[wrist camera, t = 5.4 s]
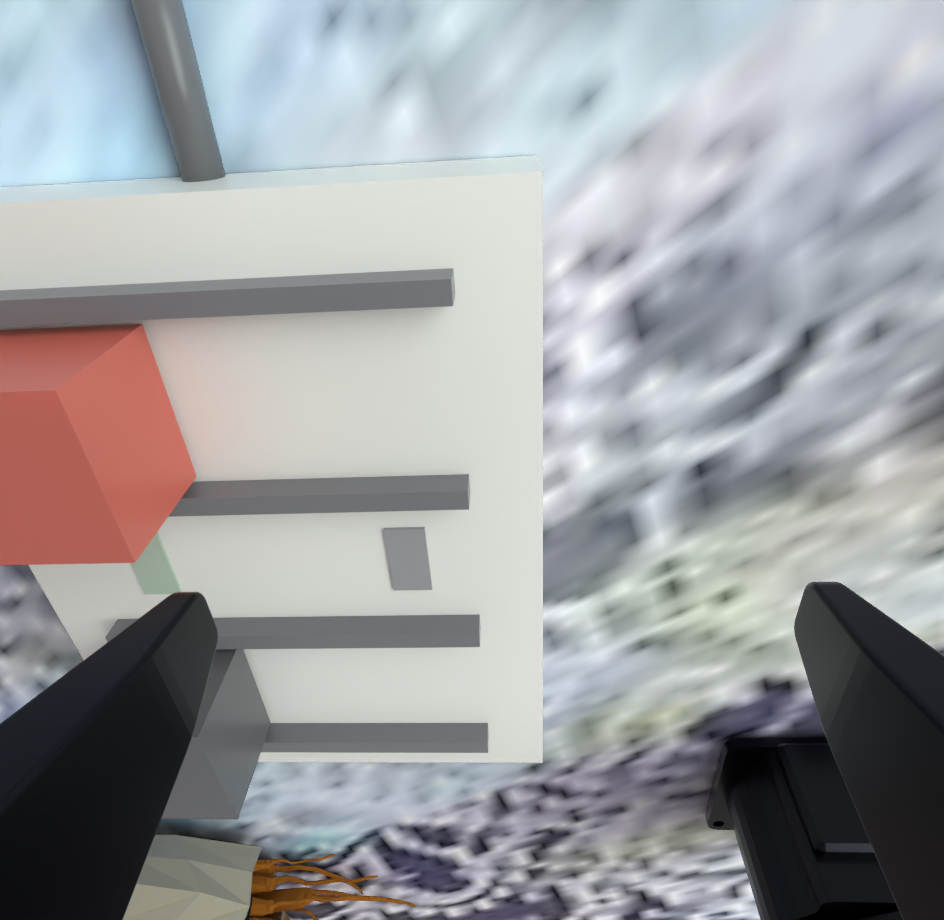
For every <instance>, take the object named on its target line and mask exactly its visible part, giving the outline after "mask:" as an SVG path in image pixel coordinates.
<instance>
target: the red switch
mask: <svg viewBox="0 0 944 920" xmlns="http://www.w3.org/2000/svg"><path fill="white" fill-rule="evenodd" d="M196 477H197V476H196V473H195V470H194V467H193V465H192V462H191V459H190V456H189V453H188V451H187V448H186V445H185V442H184V439H183V436H182V434H181V431H180V428H179V425H178V422H177V420H176V417H175V414H174V411H173V408H172V406H171V403H170V400H169V397H168V394H167V392H166V389H165V386H164V383H163V380H162V377H161V375H160V372H159V369H158V366H157V363H156V361H155V358H154V355H153V352H152V349H151V347H150V344H149V341H148V338H147V335H146V333H145V330H144V327H143V324H129V325H107V326H84V327H62V328H39V329H17V330H0V565H45V564H99V563H135V562H136V561H137V560H138V558H139V557H140V555H141V554H142V553H143V551H144V550H145V548H146V547H147V546H148V544H149V543H150V541H151V540H152V539H153V537H154V536H155V534H156V533H157V532H158V530H159V529H160V527H161V526H162V525H163V523H164V522H165V520H166V519H167V518H168V516H169V515H170V513H171V512H172V511H173V509H174V508H175V506H176V505H177V504H178V502H179V501H180V499H181V498H182V497H183V495H184V494H185V492H186V491H187V490H188V488H189V487H190V485H191V484H192V483H193V481H194V480H195V478H196Z"/></svg>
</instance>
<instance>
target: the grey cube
mask: <svg viewBox="0 0 944 920" xmlns="http://www.w3.org/2000/svg"><path fill="white" fill-rule="evenodd" d="M270 724H271V722H270V719H269V717H268V714H267V711H266V709H265V706H264V703H263V701H262V698H261V695H260V693H259V690H258V687H257V685H256V682H255V679H254V677H253V674H252V671H251V669H250V666H249V663H248V661H247V658H246V655H245V653H244V650H243V649H216V650H215V654H214V658H213V662H212V666H211V669H210V673H209V677H208V681H207V684H206V688H205V692H204V696H203V700H202V703H201V707H200V711H199V715H198V718H197V722H196V726H195V729H194V732H193V736H192V739H191V742H190V744H189V747H188V750H187V753H186V756H185V758H184V761H183V763H182V766H181V769H180V771H179V774H178V776H177V779H176V782H175V784H174V787H173V790H172V792H171V795H170V797H169V800H168V803H167V805H166V808H165V810H164V813H163V816H162V818H161V819H238V817H239V814H240V811H241V808H242V805H243V802H244V800H245V797H246V794H247V791H248V788H249V785H250V782H251V779H252V776H253V773H254V770H255V768H256V765H257V762H258V759H259V756H260V753H261V750H262V747H263V744H264V741H265V738H266V736H267V733H268V730H269V727H270Z"/></svg>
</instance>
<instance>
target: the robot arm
mask: <svg viewBox="0 0 944 920" xmlns="http://www.w3.org/2000/svg"><path fill="white" fill-rule="evenodd" d="M794 630H795V637H796V641H797V644H798V647H799V651H800V654H801V657H802V661H803V664H804V667H805V671H806V674H807V677H808V681H809V684H810V687H811V691H812V694H813V697H814V701H815V704H816V707H817V711H818V714H819V717H820V721H821V724H822V727H823V730H824V733H825V736H826V738H736V739H731V740H728V741H727V742H725V743H724V745H723V749H722V753H721V756H720V760H719V764H718V768H717V772H716V776H715V780H714V784H713V788H712V792H711V795H710V799H709V803H708V807H707V811H706V820H707V824H708V826H709V827H710V828H712V829H717V830H734V831H735V834H736V838H737V841H738V844H739V848H740V851H741V855H742V858H743V861H744V865H745V868H746V871H747V875H748V878H749V882H750V885H751V888H752V892H753V895H754V898H755V902H756V905H757V909H758V912H759V915H760V919H761V920H944V655H942V654H941V653H939V652H938V651H936V650H935V649H934V648H932V647H931V646H929V645H928V644H927V643H925V642H924V641H922V640H921V639H920V638H918V637H917V636H915V635H914V634H912V633H911V632H910V631H908V630H907V629H905V628H904V627H903V626H901V625H900V624H898V623H897V622H896V621H894V620H893V619H891V618H890V617H888V616H887V615H886V614H884V613H883V612H881V611H880V610H879V609H877V608H876V607H874V606H873V605H872V604H870V603H869V602H867V601H866V600H864V599H863V598H862V597H860V596H859V595H857V594H856V593H855V592H853V591H852V590H850V589H849V588H848V587H846V586H845V585H843V584H841V583H839V582H812V583H809V584H808V585H807V586H806V588H805V590H804V593H803V596H802V600H801V603H800V606H799V609H798V613H797V616H796V619H795V625H794ZM217 642H218V631H217V626H216V624H215V621H214V619H213V616H212V614H211V611H210V609H209V606H208V604H207V601H206V599H205V597H204V596H203V595H202V594H201V593H199V592H176V593H173V594H171V595H169V596H168V597H167V598H165V599H164V600H163V601H161V602H160V603H159V604H157V605H156V606H155V607H153V608H152V609H151V610H149V611H148V612H147V613H146V614H144V615H143V616H142V617H140V618H139V619H138V620H136V621H135V622H134V623H132V624H131V625H130V626H128V627H127V628H126V629H124V630H123V631H122V632H121V633H119V634H118V635H117V636H115V637H114V638H113V639H111V640H110V641H109V642H107V643H106V644H105V645H103V646H102V647H101V648H99V649H98V650H97V651H95V652H94V653H93V654H92V655H90V656H89V657H88V658H86V659H85V660H84V661H82V662H81V663H80V664H78V665H77V666H76V667H74V668H73V669H72V670H70V671H69V672H68V673H67V674H65V675H64V676H63V677H61V678H60V679H59V680H57V681H56V682H55V683H53V684H52V685H51V686H49V687H48V688H47V689H45V690H44V691H43V692H42V693H40V694H39V695H38V696H36V697H35V698H34V699H32V700H31V701H30V702H28V703H27V704H26V705H24V706H23V707H22V708H20V709H19V710H18V711H17V712H15V713H14V714H13V715H11V716H10V717H9V718H7V719H6V720H5V721H3V722H2V723H1V724H0V920H123V918H124V915H125V913H126V910H127V907H128V905H129V902H130V899H131V897H132V894H133V892H134V889H135V886H136V884H137V881H138V879H139V876H140V873H141V871H142V868H143V865H144V863H145V860H146V858H147V855H148V852H149V850H150V847H151V845H152V842H153V839H154V837H155V834H156V831H157V829H158V826H159V824H160V821H161V818H162V816H163V813H164V810H165V808H166V805H167V803H168V800H169V797H170V795H171V792H172V790H173V787H174V784H175V782H176V779H177V776H178V774H179V771H180V769H181V766H182V763H183V761H184V758H185V756H186V753H187V750H188V747H189V744H190V742H191V739H192V736H193V732H194V729H195V726H196V722H197V718H198V715H199V711H200V707H201V703H202V700H203V696H204V692H205V688H206V684H207V681H208V677H209V673H210V669H211V666H212V662H213V658H214V654H215V650H216V647H217Z"/></svg>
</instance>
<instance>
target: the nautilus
mask: <svg viewBox="0 0 944 920" xmlns="http://www.w3.org/2000/svg"><path fill="white" fill-rule="evenodd" d="M261 849H262V847H257V846H250V845H243V844H236V843H229V842H222V841H215V840H208V839H201V838H194V837H187V836H180V835H155V837H154V839H153V842H152V845H151V847H150V850H149V852H148V855H147V858H146V860H145V863H144V865H143V868H142V871H141V873H140V876H139V879H138V881H137V884H136V886H135V889H134V892H133V894H132V897H131V899H130V902H129V905H128V907H127V910H126V913H125V915H124V918H123V920H290V919H289V917H288V916H287V914H286V913H285V912H284V911H287V910H295V911H298V912H304V913H308V914H310V915H311V917H312V918H313V919H314V920H318V919H317V918H316V917H315V916H314V914H313V913H312V912H311V911H309V910H305V909H300V908H302V907H304V906H306V905H307V904H309V903H311V902H312V901H313V900H314V901H318V902H327V901H345V900H356V901H384V902H393V903H400V904H407V905H411V906H413V907H415V905H414V904H412V903H410V902H406V901H402V900H397V899H392V898H385V897H377V896H355V895H351V894H347V893H343V892H337V891H330V890H315V889H311V888H291V889H279V890H274V889H275V887H276V886H277V885H278V884H279V883H282V882H286V881H290V882H298V883H301V884H303V885H321V884H327V883H333V882H344V883H347V884H349V885H351V886H352V887H354V888H356V889H357V890H359V891H360V893H361V894H362V895H363V892H362V890H361V889H360V888H359V887H358V886H356V885H355V884H354V883H355V882H359V881H363V880H367V879H371V878H376V877H378V876H368V877H363V878H359V879H354V880H347V879H345V878H343V877H341V876H339V875H336V874H334V873H331V872H328V871H325V870H322V869H320V868H317V867H311V866H303V865H291V866H276V864H275V863H278V862H287V863H289V864H299V863H304V862H308V861H321V860H324V859H326V858H329V857H332V856H336V855H335V854H332V855H329V856H326V857H323V858H320V859H307V860H302V861H295V862H291V861H288V860H286V859H275V860H258V857H259V855H260V852H261ZM297 869H298V870H305V871H315V872H318V873H321V874H324V875H326V876H329V877H332V879H325V880H319V881H305V880H303V879H300V878H297V877H292V876H283V877H278V878H276V876H273V875H274V874H275V872H288V871H293V870H297ZM316 894H329V895H324V896H320V895H316ZM331 895H339V896H331Z"/></svg>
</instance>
